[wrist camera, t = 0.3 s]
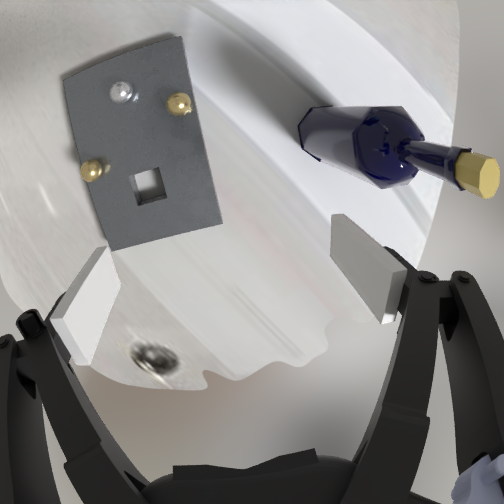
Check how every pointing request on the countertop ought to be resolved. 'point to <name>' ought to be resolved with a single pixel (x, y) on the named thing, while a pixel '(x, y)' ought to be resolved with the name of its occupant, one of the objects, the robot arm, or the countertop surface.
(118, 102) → the steel ball
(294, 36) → the countertop surface
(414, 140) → the bottle
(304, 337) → the countertop surface
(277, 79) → the countertop surface
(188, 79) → the plate
